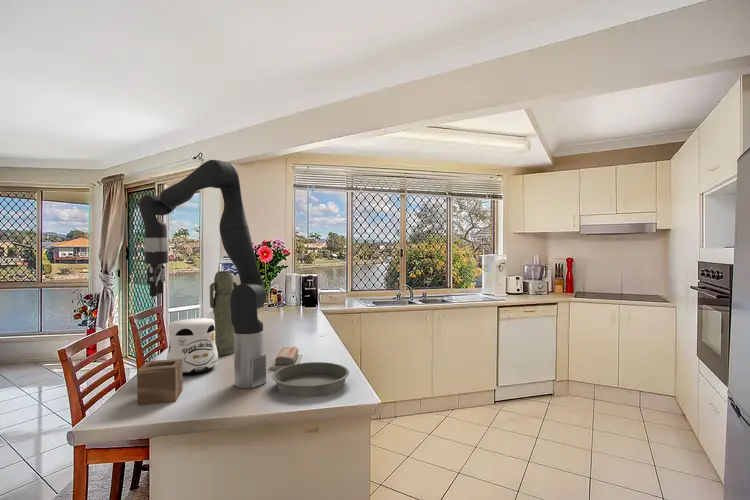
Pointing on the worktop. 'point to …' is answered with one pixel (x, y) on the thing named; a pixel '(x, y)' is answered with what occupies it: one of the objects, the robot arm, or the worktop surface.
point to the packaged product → (286, 358)
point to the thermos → (223, 312)
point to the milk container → (193, 344)
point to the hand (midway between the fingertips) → (156, 295)
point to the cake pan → (310, 379)
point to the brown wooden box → (159, 381)
